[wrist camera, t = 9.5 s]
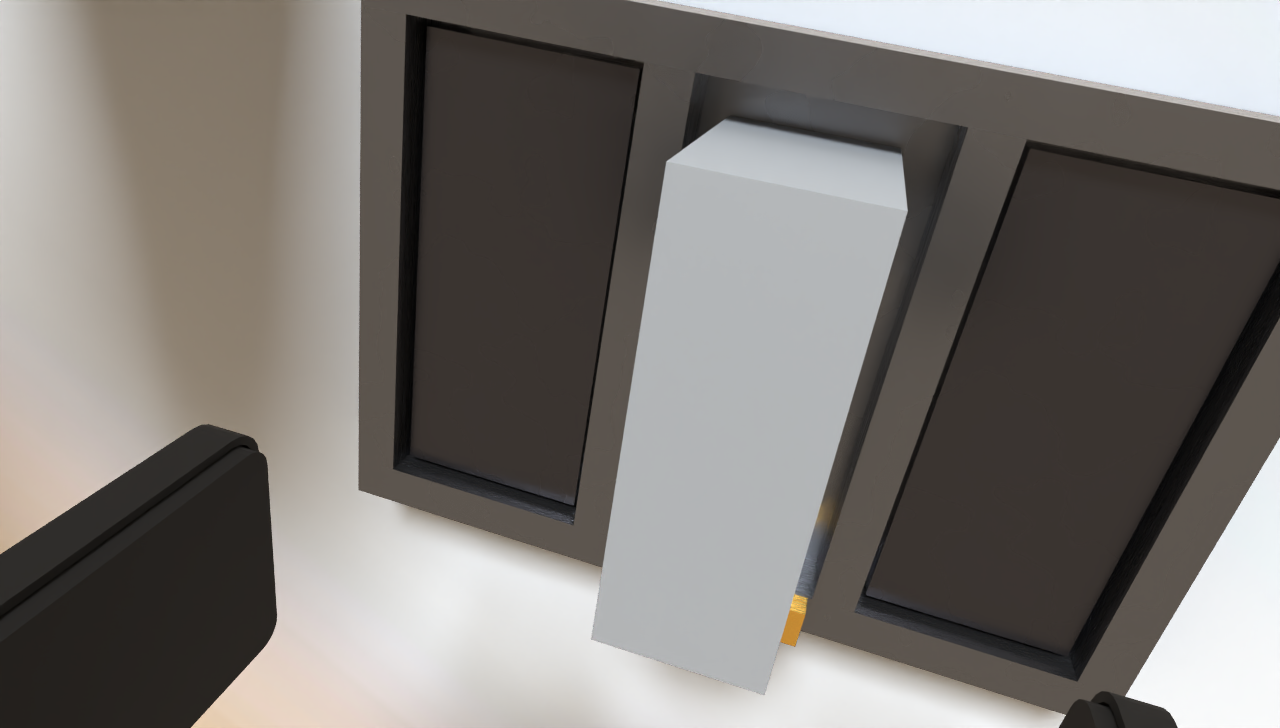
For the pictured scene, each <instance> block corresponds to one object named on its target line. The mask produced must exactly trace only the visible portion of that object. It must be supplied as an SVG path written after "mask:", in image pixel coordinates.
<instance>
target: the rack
mask: <svg viewBox="0 0 1280 728" xmlns="http://www.w3.org/2000/svg"><path fill="white" fill-rule="evenodd" d="M729 116H734V117H740V118H745V119H750V120H755V121H760V122H766V123H771V124H776V125H781V126H786V127H792V128H797V129H802V130H807V131H812V132H818V133H823V134H828V135H833V136H838V137H844V138H849V139H854V140H859V141H864V142H870V143H875V144H880V145H885V146H890V147H896V148H901V152H902V162H903V171H904V180H905V190H906V199H907V209H908V212H907V215H906V219H905V222H904V225H903V229H902V232H901V236H900V239H899V242H898V246H897V249H896V252H895V256H894V259H893V263H892V266H891V269H890V273H889V276H888V279H887V283H886V286H885V290H884V293H883V296H882V300H881V303H880V306H879V310H878V313H877V317H876V320H875V323H874V327H873V330H872V334H871V337H870V340H869V344H868V347H867V350H866V354H865V357H864V361H863V364H862V367H861V371H860V374H859V377H858V381H857V384H856V388H855V391H854V394H853V398H852V401H851V404H850V408H849V411H848V415H847V418H846V421H845V425H844V428H843V432H842V435H841V438H840V442H839V445H838V448H837V452H836V455H835V459H834V462H833V465H832V469H831V472H830V475H829V479H828V482H827V486H826V489H825V492H824V496H823V499H822V502H821V506H820V509H819V513H818V516H817V519H816V523H815V526H814V529H813V533H812V536H811V540H810V543H809V546H808V550H807V553H806V557H805V560H804V563H803V567H802V570H801V573H800V577H799V580H798V584H797V587H796V590H795V594H794V597H793V600H792V604H791V607H790V611H789V614H788V617H787V621H786V624H785V627H784V631H783V634H782V638H781V641H780V642H782V643H785V644H788V645H791V646H794V647H795V645H796V642H797V639H798V636H799V633H800V630H801V631H804V632H807V633H810V634H813V635H817V636H820V637H823V638H826V639H829V640H832V641H835V642H839V643H842V644H845V645H848V646H851V647H854V648H858V649H861V650H864V651H867V652H870V653H873V654H876V655H880V656H883V657H886V658H889V659H892V660H895V661H898V662H902V663H905V664H908V665H911V666H914V667H917V668H920V669H924V670H927V671H930V672H933V673H936V674H939V675H942V676H946V677H949V678H952V679H955V680H958V681H961V682H964V683H968V684H971V685H974V686H977V687H980V688H983V689H986V690H990V691H993V692H996V693H999V694H1002V695H1005V696H1009V697H1012V698H1015V699H1018V700H1021V701H1024V702H1027V703H1031V704H1034V705H1037V706H1040V707H1043V708H1046V709H1049V710H1053V711H1056V712H1059V713H1062V714H1065V715H1066V714H1067V713H1068V711H1069V709H1070V707H1071V706H1072V705H1073V703H1074V702H1075V701H1077V700H1078V699H1083V700H1087V701H1091V700H1092V699H1093V697H1094V696H1095V695H1096V694H1097V693H1099V692H1101V691H1107V692H1111V693H1114V694H1118V695H1121V696H1124V697H1125V695H1126V694H1127V692H1128V690H1129V689H1130V687H1131V685H1132V684H1133V682H1134V680H1135V679H1136V677H1137V675H1138V674H1139V672H1140V670H1141V669H1142V667H1143V665H1144V664H1145V662H1146V660H1147V659H1148V657H1149V655H1150V654H1151V652H1152V650H1153V649H1154V647H1155V645H1156V643H1157V642H1158V640H1159V638H1160V637H1161V635H1162V633H1163V632H1164V630H1165V628H1166V627H1167V625H1168V623H1169V622H1170V620H1171V618H1172V617H1173V615H1174V613H1175V612H1176V610H1177V608H1178V607H1179V605H1180V603H1181V602H1182V600H1183V598H1184V597H1185V595H1186V593H1187V592H1188V590H1189V588H1190V587H1191V585H1192V583H1193V582H1194V580H1195V578H1196V577H1197V575H1198V573H1199V572H1200V570H1201V568H1202V567H1203V565H1204V563H1205V562H1206V560H1207V558H1208V557H1209V555H1210V553H1211V552H1212V550H1213V548H1214V547H1215V545H1216V543H1217V542H1218V540H1219V538H1220V537H1221V535H1222V533H1223V532H1224V530H1225V528H1226V527H1227V525H1228V523H1229V521H1230V520H1231V518H1232V516H1233V515H1234V513H1235V511H1236V510H1237V508H1238V506H1239V505H1240V503H1241V501H1242V500H1243V498H1244V496H1245V495H1246V493H1247V491H1248V490H1249V488H1250V486H1251V485H1252V483H1253V481H1254V480H1255V478H1256V476H1257V475H1258V473H1259V471H1260V470H1261V468H1262V466H1263V465H1264V463H1265V461H1266V460H1267V458H1268V456H1269V455H1270V453H1271V451H1272V450H1273V448H1274V446H1275V445H1276V443H1277V441H1278V440H1279V438H1280V117H1279V116H1273V115H1268V114H1263V113H1257V112H1252V111H1247V110H1241V109H1236V108H1230V107H1225V106H1220V105H1214V104H1209V103H1204V102H1198V101H1193V100H1188V99H1182V98H1177V97H1172V96H1166V95H1161V94H1156V93H1150V92H1145V91H1139V90H1134V89H1129V88H1123V87H1118V86H1113V85H1107V84H1102V83H1097V82H1091V81H1086V80H1081V79H1075V78H1070V77H1065V76H1059V75H1054V74H1049V73H1043V72H1038V71H1032V70H1027V69H1022V68H1016V67H1011V66H1006V65H1000V64H995V63H990V62H984V61H979V60H974V59H968V58H963V57H958V56H952V55H947V54H942V53H936V52H931V51H925V50H920V49H915V48H909V47H904V46H899V45H893V44H888V43H883V42H877V41H872V40H867V39H861V38H856V37H851V36H845V35H840V34H834V33H829V32H824V31H818V30H813V29H808V28H802V27H797V26H792V25H786V24H781V23H776V22H770V21H765V20H760V19H754V18H749V17H744V16H738V15H733V14H727V13H722V12H717V11H711V10H706V9H701V8H695V7H690V6H685V5H679V4H674V3H669V2H663V1H658V0H361V153H360V326H359V490H361V491H364V492H367V493H370V494H373V495H376V496H379V497H383V498H386V499H389V500H392V501H395V502H398V503H401V504H405V505H408V506H411V507H414V508H417V509H420V510H423V511H427V512H430V513H433V514H436V515H439V516H442V517H445V518H449V519H452V520H455V521H458V522H461V523H464V524H467V525H471V526H474V527H477V528H480V529H483V530H486V531H489V532H493V533H496V534H499V535H502V536H505V537H508V538H512V539H515V540H518V541H521V542H524V543H527V544H530V545H534V546H537V547H540V548H543V549H546V550H549V551H552V552H556V553H559V554H562V555H565V556H568V557H571V558H574V559H578V560H581V561H584V562H587V563H590V564H593V565H596V566H600V567H603V561H604V555H605V548H606V542H607V536H608V529H609V523H610V517H611V510H612V504H613V498H614V491H615V485H616V479H617V472H618V466H619V459H620V453H621V447H622V440H623V434H624V428H625V421H626V415H627V409H628V402H629V396H630V390H631V383H632V377H633V371H634V364H635V358H636V351H637V345H638V339H639V332H640V326H641V320H642V313H643V307H644V301H645V294H646V288H647V282H648V275H649V269H650V263H651V256H652V250H653V243H654V237H655V231H656V224H657V218H658V212H659V205H660V199H661V193H662V186H663V180H664V174H665V167H666V161H668V160H669V159H670V158H672V157H673V156H675V155H676V154H677V153H679V152H680V151H682V150H683V149H684V148H686V147H687V146H688V145H690V144H691V143H693V142H694V141H695V140H697V139H698V138H700V137H701V136H702V135H704V134H705V133H706V132H708V131H709V130H711V129H712V128H713V127H715V126H716V125H717V124H719V123H720V122H722V121H723V120H724V119H726V118H727V117H729Z"/></svg>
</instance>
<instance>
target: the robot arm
mask: <svg viewBox="0 0 1280 728" xmlns="http://www.w3.org/2000/svg"><path fill="white" fill-rule="evenodd" d="M276 622H277V609H276V593H275V578H274V562H273V546H272V530H271V515H270V499H269V483H268V468H267V461H266V457H265V456H264V455H263V454H262V453H260V452H259V450H258V445H257V443H256V442H255V440H254V439H253V438H251V437H249V436H246V435H243V434H240V433H236V432H233V431H229V430H226V429H223V428H219V427H216V426H213V425H209V424H208V425H200V426H198V427H196V428H194V429H192V430H190V431H189V432H187V433H186V434H184V435H183V436H181V437H180V438H178V439H177V440H175V441H174V442H172V443H170V444H169V445H167V446H166V447H164V448H163V449H161V450H160V451H158V452H157V453H155V454H154V455H152V456H151V457H149V458H147V459H146V460H144V461H143V462H141V463H140V464H138V465H137V466H135V467H134V468H132V469H131V470H129V471H128V472H126V473H124V474H123V475H121V476H120V477H118V478H117V479H115V480H114V481H112V482H111V483H109V484H108V485H106V486H104V487H103V488H101V489H100V490H98V491H97V492H95V493H94V494H92V495H91V496H89V497H88V498H86V499H85V500H83V501H81V502H80V503H78V504H77V505H75V506H74V507H72V508H71V509H69V510H68V511H66V512H65V513H63V514H62V515H60V516H58V517H57V518H55V519H54V520H52V521H51V522H49V523H48V524H46V525H45V526H43V527H42V528H40V529H38V530H37V531H35V532H34V533H32V534H31V535H29V536H28V537H26V538H25V539H23V540H22V541H20V542H19V543H17V544H15V545H14V546H12V547H11V548H9V549H8V550H6V551H5V552H3V553H2V554H0V728H191V727H192V726H193V725H194V723H195V722H196V721H197V720H198V719H199V718H200V717H201V716H202V715H203V714H204V713H205V711H206V710H207V709H208V708H209V707H210V706H211V705H212V704H213V703H214V702H215V701H216V699H217V698H218V697H219V696H220V695H221V694H222V693H223V692H224V691H225V690H226V689H227V688H228V686H229V685H230V684H231V683H232V682H233V681H234V680H235V679H236V678H237V677H238V676H239V674H240V673H241V672H242V671H243V670H244V669H245V668H246V667H247V666H248V665H249V664H250V662H251V661H252V660H253V659H254V658H255V657H256V656H257V655H258V654H259V653H260V652H261V650H262V649H263V648H264V647H265V646H266V644H267V643H268V641H269V640H270V638H271V636H272V634H273V631H274V629H275V625H276ZM1059 728H1177V725H1176V723H1175V721H1174V719H1173V718H1172V716H1171V714H1170V713H1169V712H1168V711H1166V710H1165V709H1164V708H1161V707H1158V706H1155V705H1151V704H1148V703H1145V702H1141V701H1138V700H1134V699H1131V698H1128V697H1124V696H1121V695H1118V694H1114V693H1111V692H1107V691H1101V692H1099V693H1097V694H1096V695H1095V696H1094V697H1093V699H1092V700H1091V701H1087V700H1083V699H1078V700H1077V701H1075V702H1074V703H1073V705H1072V706H1071V707H1070V709H1069V711H1068V713H1067V714H1066V716H1065V718H1064V720H1063V721H1062V723H1061V725H1060V727H1059Z"/></svg>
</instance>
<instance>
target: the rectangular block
mask: <svg viewBox="0 0 1280 728" xmlns="http://www.w3.org/2000/svg"><path fill="white" fill-rule="evenodd" d="M907 212H908V209H907V199H906V190H905V180H904V171H903V162H902V152H901V148H896V147H890V146H885V145H880V144H875V143H870V142H864V141H859V140H854V139H849V138H844V137H838V136H833V135H828V134H823V133H818V132H812V131H807V130H802V129H797V128H792V127H786V126H781V125H776V124H771V123H766V122H760V121H755V120H750V119H745V118H740V117H734V116H729V117H727V118H726V119H724V120H723V121H722V122H720V123H719V124H717V125H716V126H715V127H713V128H712V129H711V130H709V131H708V132H706V133H705V134H704V135H702V136H701V137H700V138H698V139H697V140H695V141H694V142H693V143H691V144H690V145H688V146H687V147H686V148H684V149H683V150H682V151H680V152H679V153H677V154H676V155H675V156H673V157H672V158H670V159H669V160H668V161H666V167H665V174H664V180H663V186H662V193H661V199H660V205H659V212H658V218H657V224H656V231H655V237H654V243H653V250H652V256H651V263H650V269H649V275H648V282H647V288H646V294H645V301H644V307H643V313H642V320H641V326H640V332H639V339H638V345H637V351H636V358H635V364H634V371H633V377H632V383H631V390H630V396H629V402H628V409H627V415H626V421H625V428H624V434H623V440H622V447H621V453H620V459H619V466H618V472H617V479H616V485H615V491H614V498H613V504H612V510H611V517H610V523H609V529H608V536H607V542H606V548H605V555H604V561H603V568H602V574H601V580H600V587H599V593H598V599H597V606H596V612H595V618H594V625H593V631H592V637H591V639H592V640H595V641H598V642H601V643H604V644H607V645H610V646H613V647H616V648H619V649H623V650H626V651H629V652H632V653H635V654H638V655H641V656H644V657H647V658H651V659H654V660H657V661H660V662H663V663H666V664H669V665H672V666H675V667H678V668H682V669H685V670H688V671H691V672H694V673H697V674H700V675H703V676H706V677H709V678H713V679H716V680H719V681H722V682H725V683H728V684H731V685H734V686H737V687H741V688H744V689H747V690H750V691H753V692H756V693H759V694H762V695H765V692H766V688H767V685H768V682H769V678H770V675H771V671H772V668H773V665H774V661H775V658H776V655H777V651H778V648H779V644H780V641H781V638H782V634H783V631H784V627H785V624H786V621H787V617H788V614H789V611H790V607H791V604H792V600H793V597H794V594H795V590H796V587H797V584H798V580H799V577H800V573H801V570H802V567H803V563H804V560H805V557H806V553H807V550H808V546H809V543H810V540H811V536H812V533H813V529H814V526H815V523H816V519H817V516H818V513H819V509H820V506H821V502H822V499H823V496H824V492H825V489H826V486H827V482H828V479H829V475H830V472H831V469H832V465H833V462H834V459H835V455H836V452H837V448H838V445H839V442H840V438H841V435H842V432H843V428H844V425H845V421H846V418H847V415H848V411H849V408H850V404H851V401H852V398H853V394H854V391H855V388H856V384H857V381H858V377H859V374H860V371H861V367H862V364H863V361H864V357H865V354H866V350H867V347H868V344H869V340H870V337H871V334H872V330H873V327H874V323H875V320H876V317H877V313H878V310H879V306H880V303H881V300H882V296H883V293H884V290H885V286H886V283H887V279H888V276H889V273H890V269H891V266H892V263H893V259H894V256H895V252H896V249H897V246H898V242H899V239H900V236H901V232H902V229H903V225H904V222H905V219H906V215H907Z"/></svg>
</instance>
